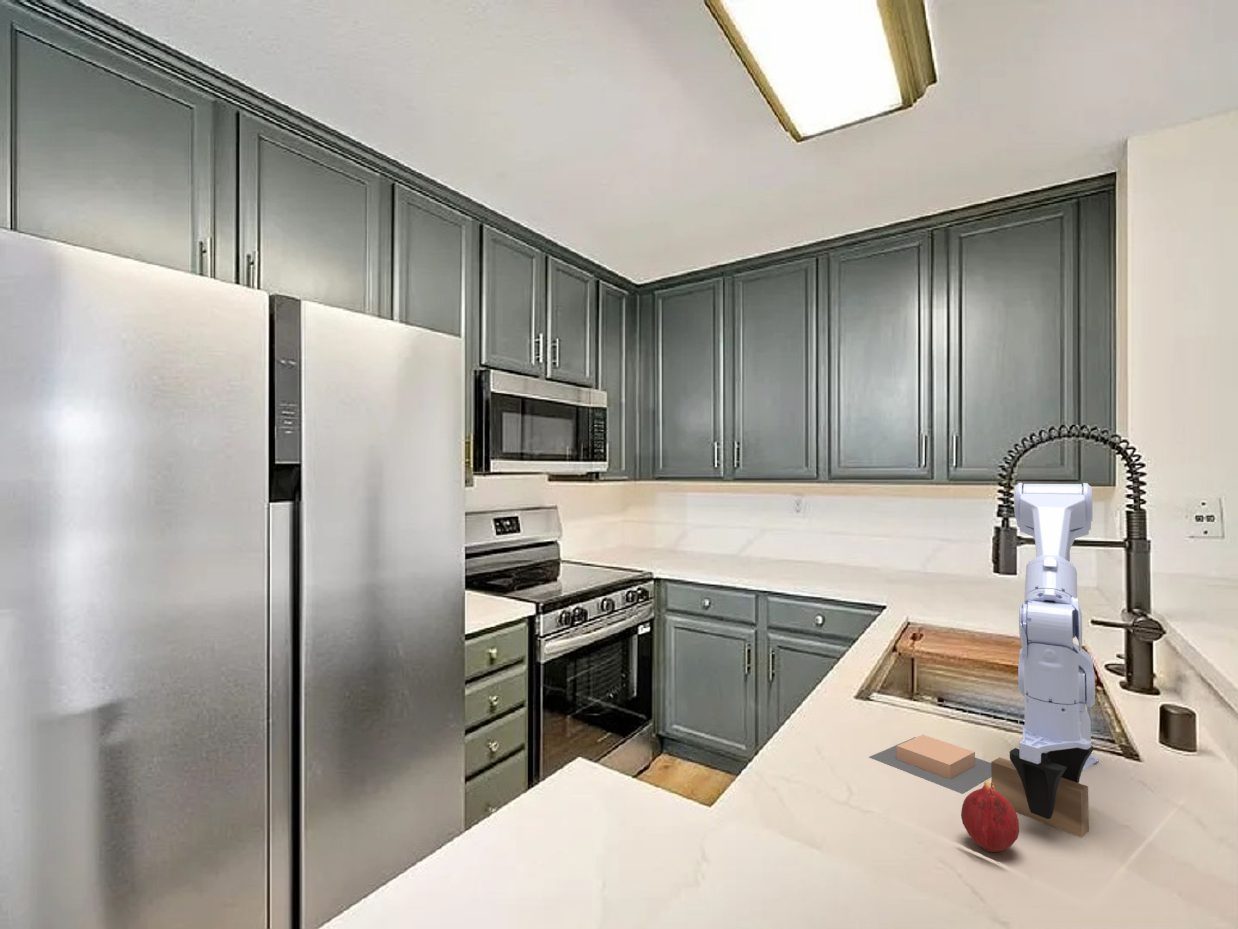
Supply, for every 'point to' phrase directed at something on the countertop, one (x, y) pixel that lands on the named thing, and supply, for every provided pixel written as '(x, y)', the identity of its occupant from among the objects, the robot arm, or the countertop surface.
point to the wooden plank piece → (1068, 801)
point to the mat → (956, 783)
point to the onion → (990, 819)
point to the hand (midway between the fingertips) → (1052, 806)
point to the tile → (936, 756)
